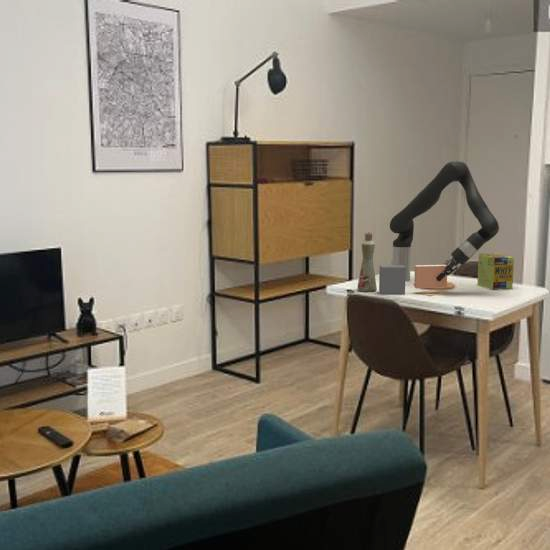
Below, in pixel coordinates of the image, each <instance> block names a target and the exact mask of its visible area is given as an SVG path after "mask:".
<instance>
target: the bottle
mask: <svg viewBox="0 0 550 550" xmlns="http://www.w3.org/2000/svg"><path fill="white" fill-rule="evenodd" d="M372 239H373V232H370V231H368V232H365V233H364V240H363V241H362V243H361V250H362V259H361V260H362V261H361V266H360V271H359V276H358V281H357V282H358V283H357V291H359V292H361V293H373V292H376V291H377V290H378V288H377V280H376V275H375V267H374V251H375V247H376V243H375V242H374V241H373V240H372Z"/></svg>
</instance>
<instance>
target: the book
mask: <svg viewBox="0 0 550 550" xmlns="http://www.w3.org/2000/svg"><path fill="white" fill-rule="evenodd" d="M445 267H446V265H443V264H423V265H421V264H420V265H419V264H418V265H417V264H416V265H414V288H415V289H438V288H439V289H440V288H443V289H444V288H448V276H445V277H444V278H443V279H442V280H441V281H438V280H437V279H436V277H437V276H438V275H439V274H440V273H442V271H443V270H444V269H445Z"/></svg>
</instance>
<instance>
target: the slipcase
mask: <svg viewBox="0 0 550 550" xmlns="http://www.w3.org/2000/svg"><path fill="white" fill-rule="evenodd" d="M378 275H379V276H378V277H379V279H378V283H379V284H378V292H380V293H379V295H383V296H385V295H387V296H388V295H392V296H395V295H396V296H398V295H401V296H402V295H403V296H405V295H406V280H405V278H406V267H405V266H404V265H391V264H390V265H389V264H388V265H386V264H385V265H384V264H383V265H379V274H378Z"/></svg>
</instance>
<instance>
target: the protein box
mask: <svg viewBox="0 0 550 550" xmlns="http://www.w3.org/2000/svg"><path fill="white" fill-rule="evenodd" d="M514 262H515V257H514V256H509V255H506V254H502V253H479V254H478V263H477V264H478V266H477V286H479V287H483V288H485V287H486V289H488V288H489V289H488V290H491V289H492V290H491V291H499V290H498V289H506V290H513V282H514V266H515V265H514V264H515V263H514Z"/></svg>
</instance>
